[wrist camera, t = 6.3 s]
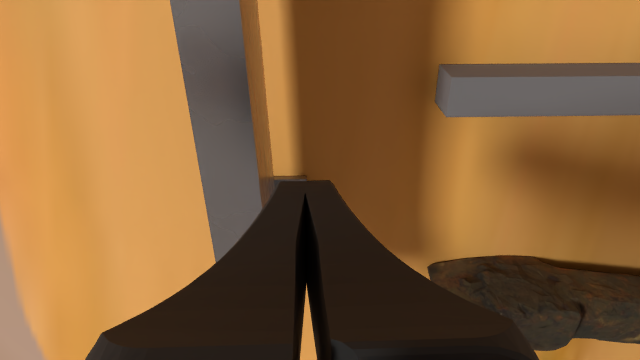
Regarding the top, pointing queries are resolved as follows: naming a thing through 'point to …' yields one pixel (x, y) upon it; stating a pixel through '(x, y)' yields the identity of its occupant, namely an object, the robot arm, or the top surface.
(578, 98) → the bar
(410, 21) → the top surface
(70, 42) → the top surface
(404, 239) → the top surface
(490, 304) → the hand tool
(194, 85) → the swing gate
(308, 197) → the robot arm
